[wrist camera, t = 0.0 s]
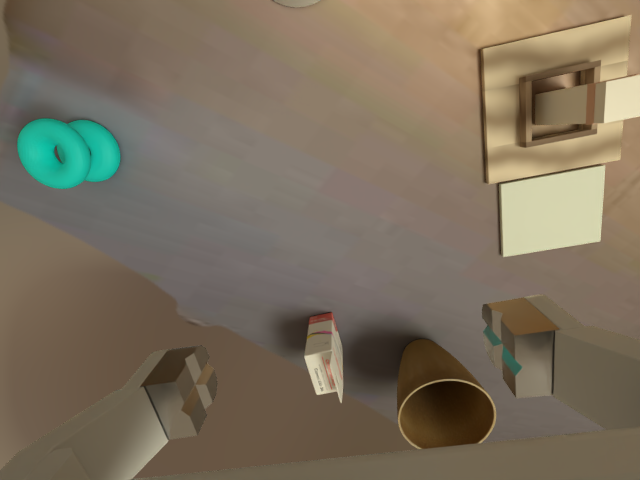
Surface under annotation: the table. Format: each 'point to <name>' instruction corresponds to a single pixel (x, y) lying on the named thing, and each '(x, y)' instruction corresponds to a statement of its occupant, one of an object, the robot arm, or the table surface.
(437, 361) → the plant pot
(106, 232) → the table surface
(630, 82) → the banded cream pillar
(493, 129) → the wooden square socket board
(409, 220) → the table surface
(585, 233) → the pad
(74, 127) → the donuts
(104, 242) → the table surface
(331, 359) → the ink cartridge box
